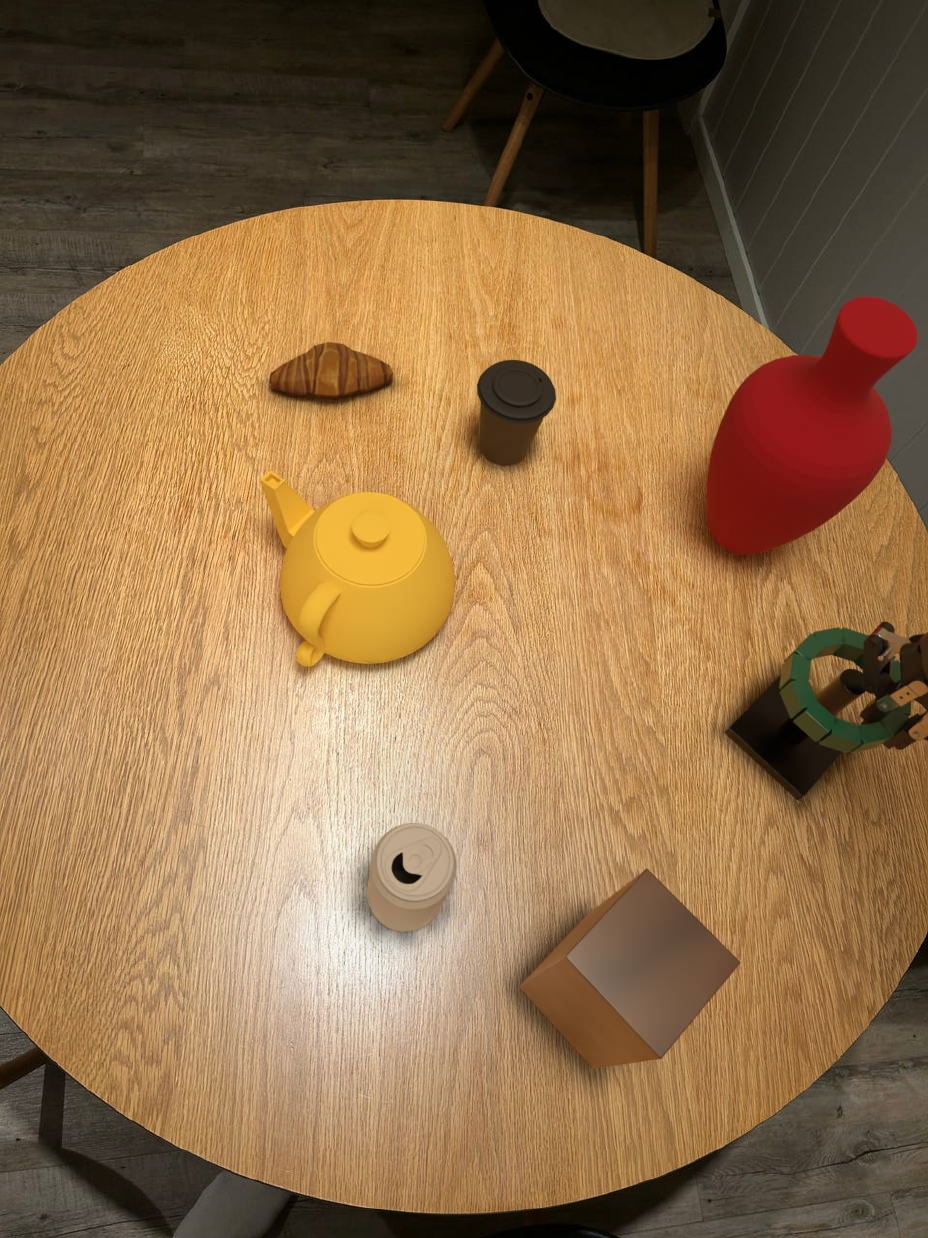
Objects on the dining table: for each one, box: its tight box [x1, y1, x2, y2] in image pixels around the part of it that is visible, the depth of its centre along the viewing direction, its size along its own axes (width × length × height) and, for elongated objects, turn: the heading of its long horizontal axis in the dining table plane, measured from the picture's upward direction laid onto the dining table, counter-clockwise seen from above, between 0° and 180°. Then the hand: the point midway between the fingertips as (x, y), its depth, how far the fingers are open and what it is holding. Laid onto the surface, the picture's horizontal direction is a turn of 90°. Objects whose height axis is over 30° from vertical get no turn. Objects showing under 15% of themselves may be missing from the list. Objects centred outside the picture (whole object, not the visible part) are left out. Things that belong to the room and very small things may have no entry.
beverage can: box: [366, 822, 457, 933], centre depth 74 cm, size 6×6×12 cm
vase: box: [705, 296, 918, 556], centre depth 87 cm, size 15×15×30 cm
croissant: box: [268, 341, 394, 400], centre depth 101 cm, size 14×7×5 cm, turn 101°
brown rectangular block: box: [518, 868, 741, 1070], centre depth 69 cm, size 8×8×18 cm
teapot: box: [259, 469, 456, 668], centre depth 86 cm, size 20×19×13 cm
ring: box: [779, 626, 913, 754], centre depth 80 cm, size 10×10×2 cm
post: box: [724, 668, 866, 801], centre depth 84 cm, size 9×9×13 cm
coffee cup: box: [476, 359, 557, 467], centre depth 98 cm, size 8×8×10 cm
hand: (880, 730), depth 80 cm, fingers closed on ring, 1 cm apart
